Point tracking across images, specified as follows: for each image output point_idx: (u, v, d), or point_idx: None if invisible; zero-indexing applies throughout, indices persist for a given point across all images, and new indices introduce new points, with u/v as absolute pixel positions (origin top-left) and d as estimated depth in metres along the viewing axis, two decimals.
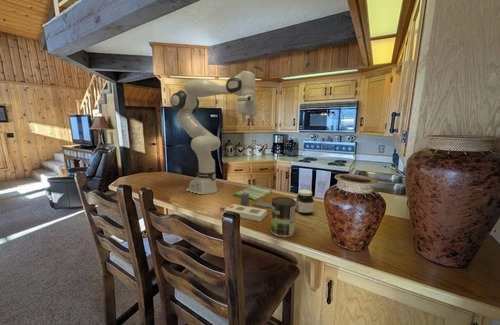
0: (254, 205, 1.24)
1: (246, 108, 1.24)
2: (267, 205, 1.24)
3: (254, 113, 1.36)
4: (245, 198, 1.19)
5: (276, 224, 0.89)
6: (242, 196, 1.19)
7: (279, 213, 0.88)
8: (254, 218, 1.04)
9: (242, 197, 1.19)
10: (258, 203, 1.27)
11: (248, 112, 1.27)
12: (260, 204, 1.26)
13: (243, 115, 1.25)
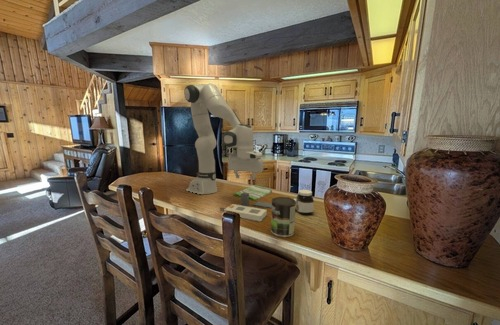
0: (254, 205, 1.24)
1: None
2: (267, 205, 1.24)
3: None
4: (245, 198, 1.19)
5: (276, 224, 0.89)
6: (242, 196, 1.19)
7: (279, 213, 0.88)
8: (254, 218, 1.04)
9: (242, 197, 1.19)
10: (258, 203, 1.26)
11: None
12: (260, 204, 1.25)
13: (256, 173, 1.16)
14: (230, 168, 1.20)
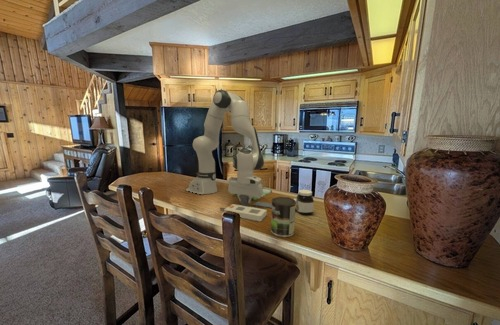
0: (254, 205, 1.24)
1: None
2: (267, 205, 1.24)
3: None
4: (245, 198, 1.19)
5: (276, 224, 0.89)
6: (242, 196, 1.19)
7: (279, 213, 0.88)
8: (254, 218, 1.04)
9: (242, 197, 1.19)
10: (258, 203, 1.26)
11: None
12: (260, 204, 1.25)
13: (251, 196, 1.19)
14: (230, 191, 1.22)
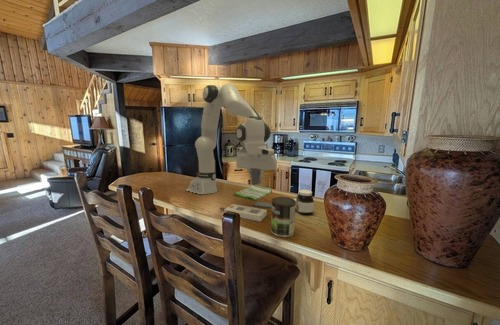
0: (254, 205, 1.24)
1: None
2: (267, 205, 1.24)
3: None
4: (256, 172, 1.04)
5: (276, 224, 0.89)
6: (253, 170, 1.05)
7: (279, 213, 0.88)
8: (254, 218, 1.04)
9: (253, 171, 1.05)
10: (258, 203, 1.26)
11: None
12: (260, 204, 1.25)
13: (264, 170, 1.04)
14: (239, 166, 1.07)
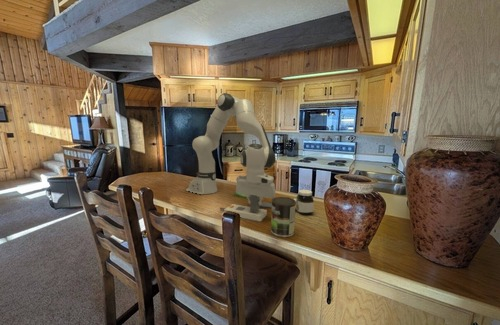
0: None
1: None
2: (267, 205, 1.24)
3: None
4: (255, 199, 1.05)
5: (276, 224, 0.89)
6: (252, 197, 1.06)
7: (279, 213, 0.88)
8: (254, 218, 1.04)
9: (252, 198, 1.06)
10: None
11: None
12: None
13: (263, 197, 1.06)
14: (238, 192, 1.08)
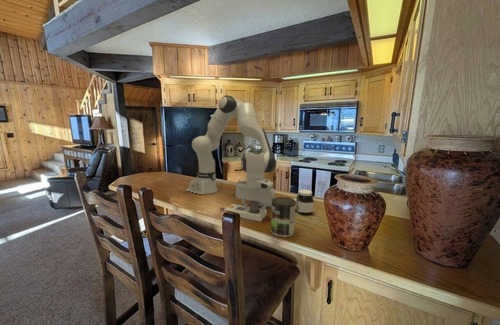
0: None
1: None
2: (267, 205, 1.24)
3: None
4: (255, 206, 1.06)
5: (276, 224, 0.89)
6: (251, 203, 1.06)
7: (279, 213, 0.88)
8: (254, 218, 1.04)
9: (251, 205, 1.06)
10: None
11: None
12: (260, 204, 1.25)
13: (267, 203, 1.05)
14: (238, 196, 1.09)
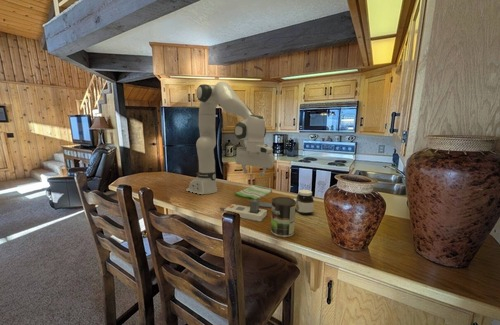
0: None
1: None
2: (267, 205, 1.24)
3: None
4: (255, 206, 1.06)
5: (276, 224, 0.89)
6: (251, 203, 1.06)
7: (279, 213, 0.88)
8: (254, 218, 1.04)
9: (251, 205, 1.06)
10: None
11: None
12: (260, 204, 1.25)
13: (265, 168, 1.07)
14: (238, 162, 1.11)
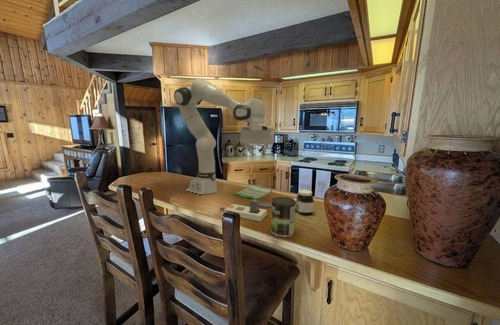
0: None
1: None
2: (267, 205, 1.24)
3: None
4: (255, 206, 1.06)
5: (276, 224, 0.89)
6: (251, 203, 1.06)
7: (279, 213, 0.88)
8: (254, 218, 1.04)
9: (251, 205, 1.06)
10: None
11: None
12: (260, 204, 1.25)
13: (267, 145, 1.21)
14: (242, 141, 1.24)
